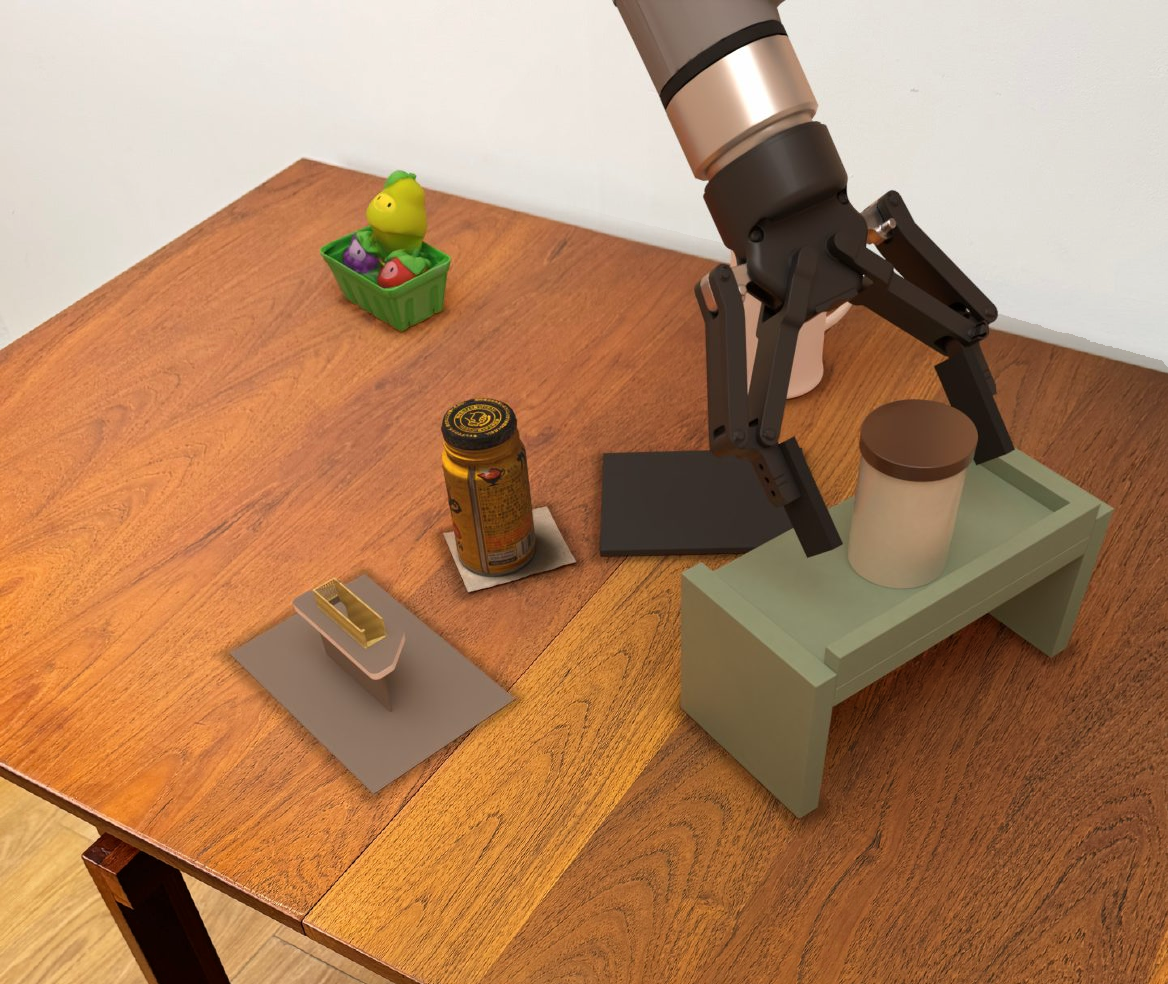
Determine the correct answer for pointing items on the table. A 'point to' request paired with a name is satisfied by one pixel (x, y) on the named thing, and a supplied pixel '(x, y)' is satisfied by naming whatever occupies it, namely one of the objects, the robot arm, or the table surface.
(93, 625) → the table surface
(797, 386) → the mug
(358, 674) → the platform
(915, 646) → the stand
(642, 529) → the mat
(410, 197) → the fruit basket
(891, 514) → the spice jar
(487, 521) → the condiment
